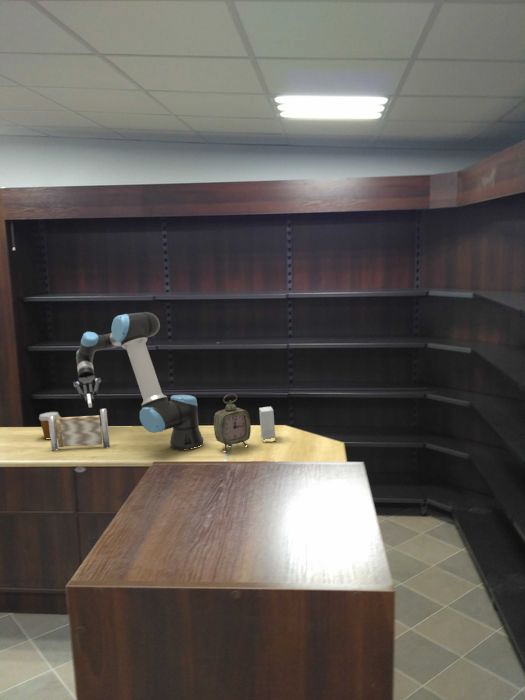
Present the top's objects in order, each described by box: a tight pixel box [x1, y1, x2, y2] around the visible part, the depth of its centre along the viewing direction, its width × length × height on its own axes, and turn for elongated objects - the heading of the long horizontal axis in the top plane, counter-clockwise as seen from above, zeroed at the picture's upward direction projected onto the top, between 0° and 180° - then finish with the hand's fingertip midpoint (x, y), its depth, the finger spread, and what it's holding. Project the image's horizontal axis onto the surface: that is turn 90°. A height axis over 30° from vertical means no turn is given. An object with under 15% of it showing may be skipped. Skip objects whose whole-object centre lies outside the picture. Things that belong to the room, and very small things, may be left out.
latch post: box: [48, 416, 59, 451], centre depth 249 cm, size 3×3×16 cm
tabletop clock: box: [213, 393, 252, 452], centre depth 240 cm, size 14×9×25 cm, turn 123°
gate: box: [55, 415, 103, 448], centre depth 250 cm, size 20×2×14 cm, turn 93°
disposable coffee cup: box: [38, 411, 60, 439], centre depth 269 cm, size 10×10×12 cm
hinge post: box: [99, 407, 111, 449], centre depth 250 cm, size 3×3×18 cm
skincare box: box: [258, 406, 276, 441], centre depth 250 cm, size 8×6×15 cm
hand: (90, 405), depth 251 cm, fingers closed
